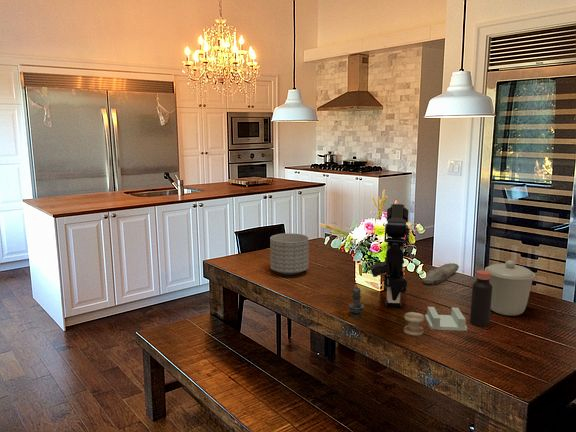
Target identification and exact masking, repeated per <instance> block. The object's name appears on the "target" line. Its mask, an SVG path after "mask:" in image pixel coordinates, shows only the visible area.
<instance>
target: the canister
mask: <svg viewBox="0 0 576 432" xmlns="http://www.w3.org/2000/svg"><path fill="white" fill-rule="evenodd" d="M484 271H488V272H490V273H491V277H490V280H489V283H490V284H491V285H492V298H491V309H490V311H493V312H494V313H496V314H499V315H504V316H510V317H511V316H513V317H514V316H519V315H521V314H523V313H524V312H525V311H526V307H527V305H528V302H529V297H530V293H531V288H532V283H533V279H534V278H535V277H536V273H534V272H533V271H532V270H531V269H529V268H527V267H525V266H522V265H517V264H516V262H515V261H514V260H511V259H508V260H506V261H505V263H492V264H490V265H488V266H486V267H485V268H484Z"/></svg>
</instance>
